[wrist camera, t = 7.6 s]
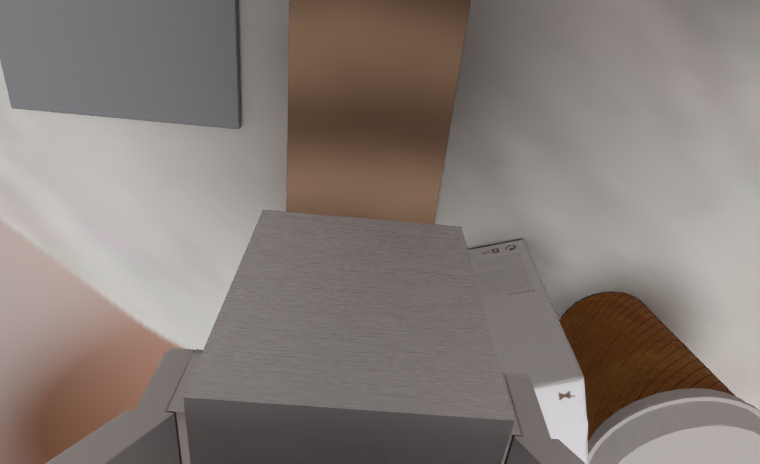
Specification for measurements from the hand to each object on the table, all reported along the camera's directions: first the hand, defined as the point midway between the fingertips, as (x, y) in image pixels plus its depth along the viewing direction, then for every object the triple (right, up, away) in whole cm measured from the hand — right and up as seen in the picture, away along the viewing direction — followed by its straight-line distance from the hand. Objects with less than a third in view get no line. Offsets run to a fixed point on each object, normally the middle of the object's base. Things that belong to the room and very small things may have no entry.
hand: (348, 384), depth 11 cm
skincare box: (+8, 0, +24) cm, 26 cm away
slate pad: (-12, +15, +16) cm, 25 cm away
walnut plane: (0, +10, +18) cm, 21 cm away
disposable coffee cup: (+16, -3, +26) cm, 31 cm away
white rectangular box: (0, +1, +1) cm, 2 cm away
